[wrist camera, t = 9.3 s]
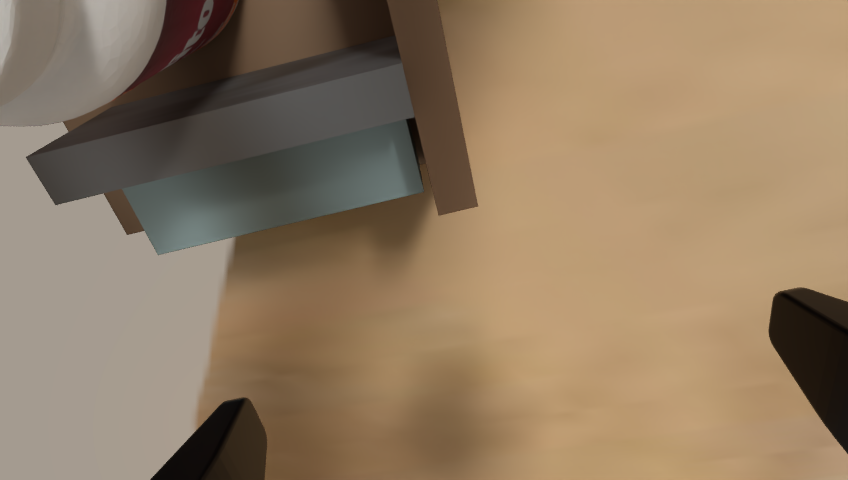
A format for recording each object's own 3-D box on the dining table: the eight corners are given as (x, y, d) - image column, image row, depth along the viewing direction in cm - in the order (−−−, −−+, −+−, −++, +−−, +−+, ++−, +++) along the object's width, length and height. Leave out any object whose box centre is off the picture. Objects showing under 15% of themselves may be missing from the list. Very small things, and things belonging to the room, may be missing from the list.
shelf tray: (353, -349, 14) (334, -530, 9) (455, 144, 21) (480, 213, 16) (-100, -217, 15) (-375, -310, 10) (139, 220, 22) (57, 312, 16)
